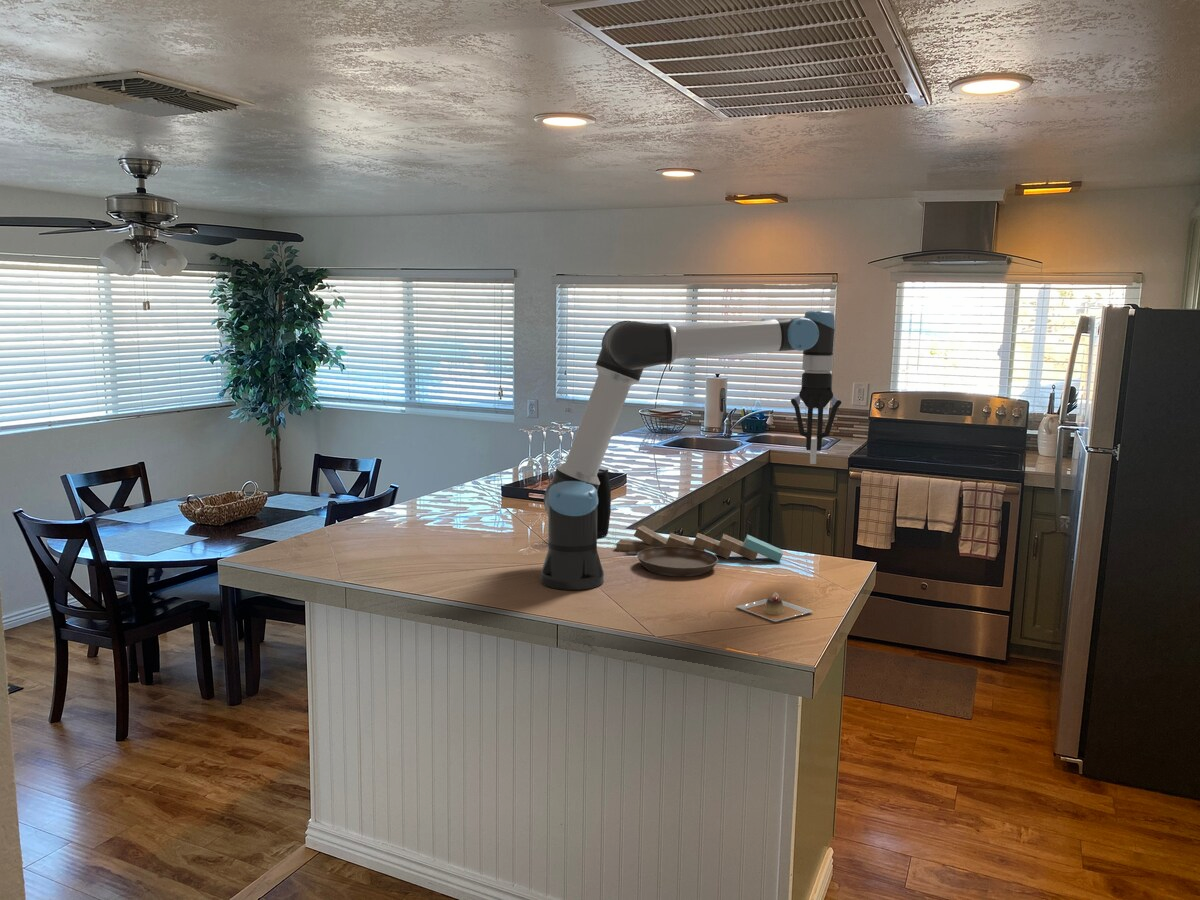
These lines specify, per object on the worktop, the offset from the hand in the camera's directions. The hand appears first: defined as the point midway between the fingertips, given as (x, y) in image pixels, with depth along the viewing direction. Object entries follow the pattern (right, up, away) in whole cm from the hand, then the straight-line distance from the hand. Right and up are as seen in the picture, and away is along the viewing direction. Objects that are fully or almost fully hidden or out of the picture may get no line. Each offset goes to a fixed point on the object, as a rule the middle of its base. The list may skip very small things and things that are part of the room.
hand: (812, 463), depth 230 cm
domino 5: (-14, -25, +6) cm, 29 cm away
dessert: (-17, -32, -37) cm, 52 cm away
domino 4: (-20, -24, +8) cm, 33 cm away
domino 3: (-27, -24, +9) cm, 37 cm away
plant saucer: (-36, -27, -3) cm, 45 cm away
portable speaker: (-57, -22, +31) cm, 68 cm away
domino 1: (-41, -24, +13) cm, 49 cm away
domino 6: (-7, -25, +5) cm, 26 cm away
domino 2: (-36, -23, +12) cm, 45 cm away
